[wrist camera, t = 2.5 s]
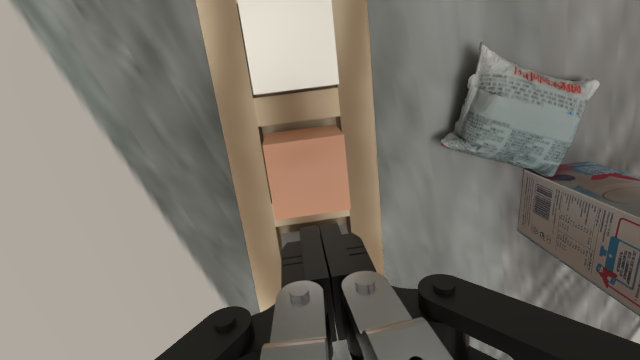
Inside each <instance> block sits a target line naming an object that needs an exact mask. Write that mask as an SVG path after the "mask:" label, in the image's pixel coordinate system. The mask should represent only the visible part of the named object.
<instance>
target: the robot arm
mask: <svg viewBox="0 0 640 360" xmlns="http://www.w3.org/2000/svg"><path fill="white" fill-rule="evenodd" d="M319 233H320V235H319ZM299 234H300V241H295V242H288V243H286V245H285V246H284V247H283V249H282V250H281V266H282V267H281V290H280V291H279V292H278V294H277V296H276V302H275V304H274V305H273V306H271V307H270V308H268V309H267V310H265V311H263V312H260V313H258V314H255V315H253V316H251V314H250V312H249V311H248V310H247V309H245V308H242V307H237V306H232V307H226V308H223V309H220V310H218V311H215V312H214V313H212V314H210V315H209V316H208V317H207V318H205V319H204V320H203V321H202V322H200V323H199V324H198V325H197V326H195V327H194V328H193V329H192V330H191V331H189V332H188V333H187V334H186V335H184V336H183V337H182V338H181V339H179V340H178V341H177V342H176V343H175V344H173V345H172V346H171V347H170V348H168V349H167V350H166V351H165V352H164V353H162V354H161V355H160V356H159V357H157V358H156V359H155V360H332V356H333V347H332V342H334V341H337V338H336V330H335V324H336V329H337V334H338V339H339V340H345V339H346V340H347V344H348V351H349V360H497V359H495V358H493V357H491V356H489V355H487V354H485V353H483V352H481V351H479V350H477V349H475V348H473V347H471V346H469V336H471V337H473V338H475V339H477V340H480V341H482V342H484V343H486V344H488V345H490V346H492V347H494V348H496V349H499V350H501V351H503V352H505V353H507V354H508V355H509V356H511V357H512V358H513V359H514V360H640V344H638V343H635V342H633V341H630V340H627V339H624V338H622V337H619V336H616V335H613V334H611V333H608V332H605V331H602V330H600V329H597V328H594V327H591V326H589V325H586V324H583V323H580V322H578V321H575V320H572V319H569V318H567V317H564V316H561V315H558V314H556V313H553V312H550V311H548V310H545V309H542V308H539V307H537V306H534V305H531V304H528V303H526V302H523V301H520V300H517V299H515V298H512V297H509V296H506V295H504V294H501V293H498V292H495V291H493V290H490V289H487V288H484V287H482V286H479V285H476V284H474V283H471V282H468V281H465V280H463V279H460V278H457V277H454V276H451V275H445V274H434V275H430V276H427V277H425V278H423V279H422V280H421V281H420V282H419V284H418V289H406V288H398V287H394V286H391V285H390V283H389V282H388V280H387V279H386V278H385V277H384V276H383V275H381V274H379V273H377V271H376V269H375V267H374V265H373V262H372V260H371V258H370V256H369V254H368V253H367V250H366V248H365V246H364V243H363V241H362V239H361V238H360V237H358V236H357V235H355V234H354V233H348V234H341V231H340V228H339V226H338V223H330V224H323V225H319V230H318V226H310V227H303V228H299ZM334 320H335V321H334Z"/></svg>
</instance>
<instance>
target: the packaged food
mask: <svg viewBox="0 0 640 360" xmlns="http://www.w3.org/2000/svg"><path fill="white" fill-rule="evenodd" d="M482 43H483V42H480V46H479V58H478V64H477V66H476V72H475V74H474V75H472V76H470V78H469V79H468V86H467V87H468V88H469V90H468V92H467V95H466V98H465V99H464V102H463V106H462V110H461V115H460V118H459V121H457V122H456V124H455V130H454V131H453V132H452V133H449V134H448V135H447V136H448V137H446V136H445V138H444V139H442V140H441V145H442V146H445V147H447V148H450V149H453V150H457V151H460V152H464V153H468V154H472V155H476V156H479V157H482V158H487V159H492V160H496V161H501V162H507V163H509V164H512V165H516V166H520V167H522V168H528V169H531V170H534V171H536V172H537V173H539V174H541V175H543V176H547V177H552V176H554V175H555V173H556V171H557V169H558V167H559V165H560V163H561V161H562V160H563V158H564V156H565V154H566V152H567V150H568V148H569V147H570V145H571V144H572V141H573V138H574V135H575V132H576V130H577V128H578V126H579V124H580V120H581V117H582V115H583V112H584V109H585V107H586V104H587V101H588V100H589V99H590V97H592V95H593V94H594V92H595V91H596V89H597V88H598V87H599V82H598V81H597V80H595V79H593V78H591V79H586V80H578V81H570V80H564V79H557V78H555V77H552V76H549V75H545V74H542V73H537V72H534V71H533V70H526V69H524V68H521V67H520V66H519V65H517V64H515V63H512V62H509V61H507V60H505V59H504V58H502V57H501V56H499V55H497V54H496V53H494V52H493V51H491V50H490V49H488V48H487V47H486V46H485V45H483V44H482Z"/></svg>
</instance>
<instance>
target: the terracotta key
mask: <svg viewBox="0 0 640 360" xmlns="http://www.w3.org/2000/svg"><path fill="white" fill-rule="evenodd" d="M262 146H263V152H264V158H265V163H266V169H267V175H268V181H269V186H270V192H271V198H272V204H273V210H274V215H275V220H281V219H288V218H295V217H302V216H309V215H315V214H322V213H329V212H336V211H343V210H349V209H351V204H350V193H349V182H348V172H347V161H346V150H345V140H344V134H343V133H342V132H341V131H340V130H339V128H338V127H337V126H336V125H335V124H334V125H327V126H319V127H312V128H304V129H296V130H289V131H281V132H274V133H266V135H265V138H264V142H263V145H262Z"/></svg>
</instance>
